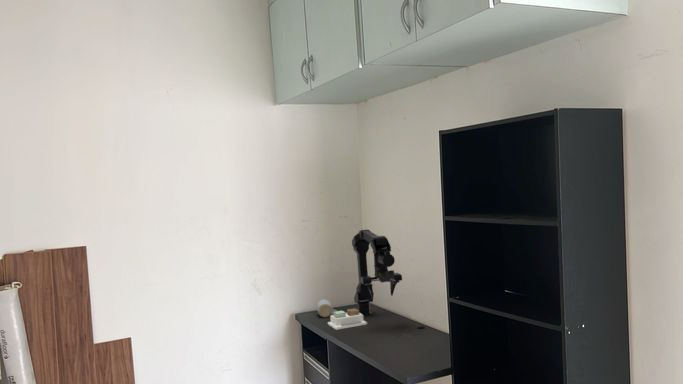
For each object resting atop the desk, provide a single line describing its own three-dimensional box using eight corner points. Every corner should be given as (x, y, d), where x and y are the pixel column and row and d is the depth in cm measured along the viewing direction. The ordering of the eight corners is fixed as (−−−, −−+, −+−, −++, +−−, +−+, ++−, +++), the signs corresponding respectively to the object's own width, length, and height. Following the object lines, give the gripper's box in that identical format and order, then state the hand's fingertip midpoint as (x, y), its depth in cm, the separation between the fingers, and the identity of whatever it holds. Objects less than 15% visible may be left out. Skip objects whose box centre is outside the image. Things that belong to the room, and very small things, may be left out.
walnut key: (347, 315, 268) (347, 309, 267) (355, 314, 269) (355, 308, 269) (350, 317, 263) (350, 311, 263) (359, 316, 265) (358, 310, 265)
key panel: (327, 324, 266) (327, 316, 266) (358, 319, 272) (357, 311, 271) (335, 329, 256) (335, 321, 255) (367, 324, 261) (366, 316, 261)
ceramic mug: (318, 318, 278) (318, 303, 277) (316, 314, 286) (316, 299, 285) (339, 316, 279) (338, 301, 279) (336, 312, 287) (336, 298, 287)
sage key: (334, 318, 265) (333, 311, 265) (342, 316, 267) (342, 310, 266) (337, 320, 261) (337, 313, 261) (345, 318, 262) (345, 312, 262)
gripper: (365, 268, 245) (367, 302, 246) (405, 264, 249) (406, 298, 249) (359, 264, 256) (361, 297, 257) (397, 260, 260) (399, 293, 260)
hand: (382, 296), depth 255 cm, fingers open, 9 cm apart
